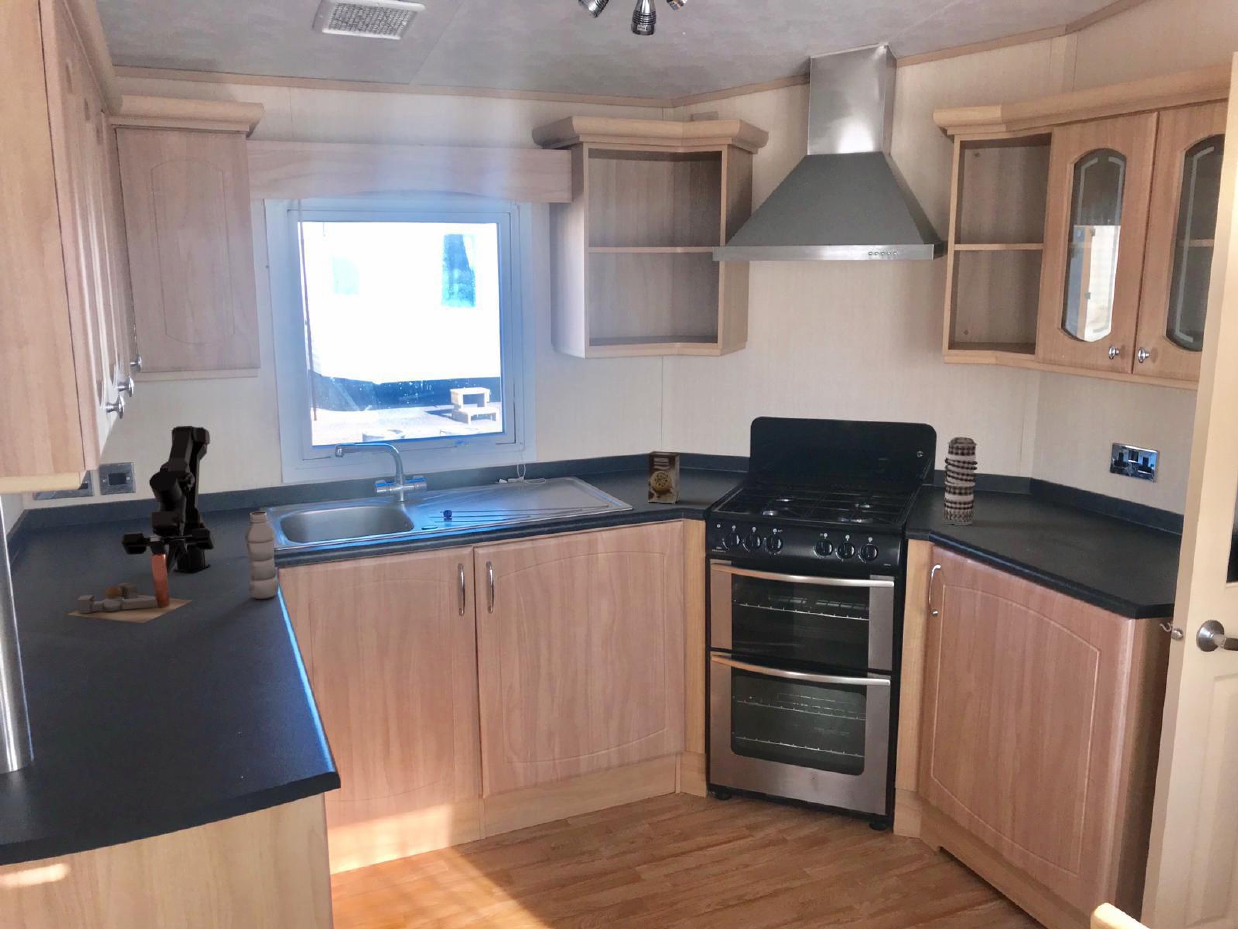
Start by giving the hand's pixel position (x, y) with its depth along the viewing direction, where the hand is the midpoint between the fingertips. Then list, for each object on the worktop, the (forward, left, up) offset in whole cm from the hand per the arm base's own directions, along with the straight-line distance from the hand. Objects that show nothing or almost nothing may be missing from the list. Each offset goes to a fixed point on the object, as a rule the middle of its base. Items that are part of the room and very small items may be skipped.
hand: (165, 573), depth 222 cm
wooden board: (+7, -4, -7) cm, 11 cm away
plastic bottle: (-10, +18, -7) cm, 22 cm away
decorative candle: (-124, +173, -7) cm, 213 cm away
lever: (+8, -4, -6) cm, 11 cm away
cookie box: (-127, +83, -7) cm, 152 cm away
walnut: (+5, -11, -6) cm, 13 cm away
